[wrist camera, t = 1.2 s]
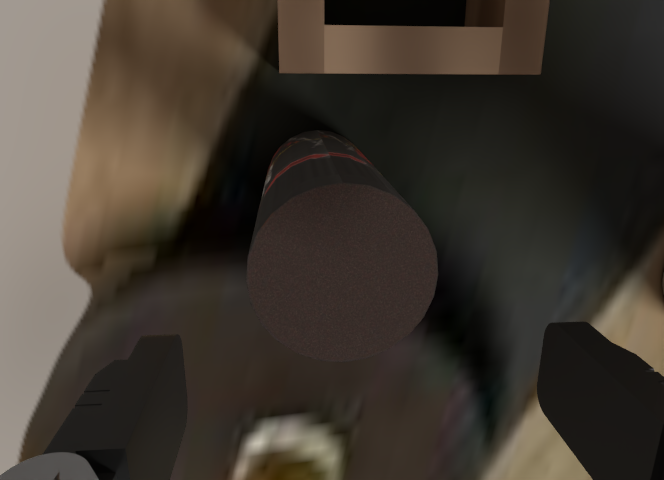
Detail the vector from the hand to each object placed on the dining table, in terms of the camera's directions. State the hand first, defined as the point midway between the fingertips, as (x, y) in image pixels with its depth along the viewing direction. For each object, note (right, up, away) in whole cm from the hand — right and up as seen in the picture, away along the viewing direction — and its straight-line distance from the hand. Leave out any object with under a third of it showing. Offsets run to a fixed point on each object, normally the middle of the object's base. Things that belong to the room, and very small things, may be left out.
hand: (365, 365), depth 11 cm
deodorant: (-2, +6, +19) cm, 20 cm away
